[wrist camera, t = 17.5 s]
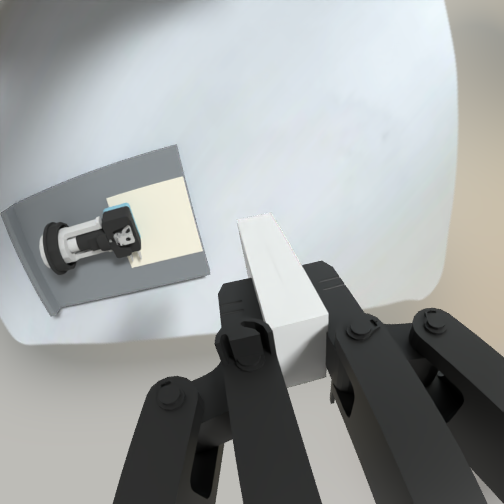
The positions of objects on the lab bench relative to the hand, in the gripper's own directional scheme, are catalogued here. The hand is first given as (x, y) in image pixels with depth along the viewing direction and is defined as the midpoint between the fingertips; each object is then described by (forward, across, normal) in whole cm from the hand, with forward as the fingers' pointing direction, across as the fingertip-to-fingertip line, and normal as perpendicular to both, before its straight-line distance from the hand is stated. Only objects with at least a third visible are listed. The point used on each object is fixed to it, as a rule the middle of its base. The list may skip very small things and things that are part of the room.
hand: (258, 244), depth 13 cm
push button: (+14, -10, -4) cm, 17 cm away
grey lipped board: (+17, -15, -4) cm, 23 cm away
